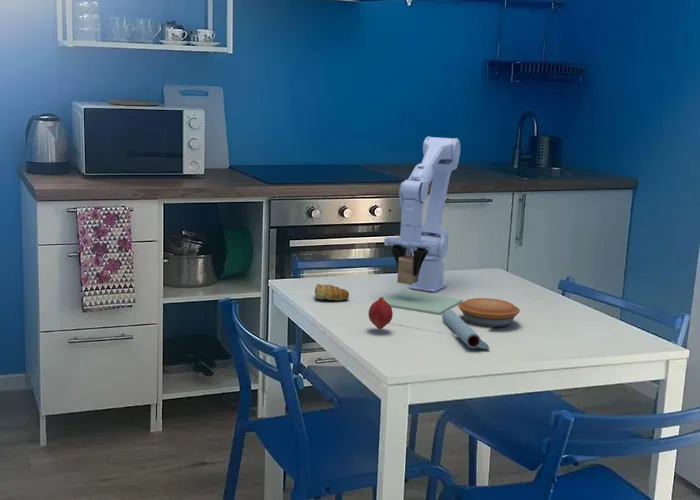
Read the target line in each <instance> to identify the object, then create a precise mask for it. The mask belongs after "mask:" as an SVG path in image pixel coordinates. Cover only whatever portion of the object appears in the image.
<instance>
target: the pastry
mask: <svg viewBox="0 0 700 500" xmlns="http://www.w3.org/2000/svg"><path fill="white" fill-rule="evenodd" d="M314 297H315V298H316V299H318V300H325V299H326V300H329V301H333V300H334V302H335V301H343V300H348V299H349V297H350V292H349V291H348V290H346V289H345V288H340V287H339V286H334V285H332V284H321V283H317V284H316V285H315V289H314Z"/></svg>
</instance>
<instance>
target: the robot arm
mask: <svg viewBox="0 0 700 500" xmlns="http://www.w3.org/2000/svg"><path fill="white" fill-rule="evenodd" d="M422 153H423V158H422V161H421V163H418V164H416V165H415V166H414V169H413V170H412V172H411V173H410V175H409V177H408V179H405V180H404V181H401V183H400V186H399V191H398V193H399V200H400V201H399V202H400V203H399V206H400V207H401V217H400V218H401V219H400V232H399V233H400V234H399V237H384V240H383V241H384V246H388V247H389V246H392V247H391V249H390V251H391V253H392V255H393V257H394V260H395V264H396V268H397V270H398V263H399V257H401V256H404V255H406V253H407V249H409V250H410V252H411V254H412V255H413V256H414V276H417V275H418V282H416V283H414V284H411V285H410V286H408V288H409V289H413V290H420V291H424V292H425V291H426V292H433V293H435V292H437V291H439V290H442V289H443V288H446V284H443V283H444V272H445V271H444V270H445V269H444V268H445V264H444V262H443V260H442V259H444V258H445V257H446V256H447V253H448V249H449V235H448V232H447V231H446V229H444V228H443V227H442V221H443V216H444V209H445V205H446V199H447V194H448V188H449V183H450V177H451V174H452V172H453V171H454V170H456V169H458V166H459V161H460V155H461V141H460V140H459V138H458V137H455V138H451V137H435V136H434V137H433V136H429V135H428V136H427V137H425V138H424V141H423V144H422ZM430 183H431V186H430ZM429 186H430V192H429ZM428 192H429V196H428ZM427 197H429V198H428V203H427V208H426V214H425V218H424V223H423V217H424V215H423V213H424V203H425V202H426V200H427Z"/></svg>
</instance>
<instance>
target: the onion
mask: <svg viewBox="0 0 700 500" xmlns="http://www.w3.org/2000/svg"><path fill="white" fill-rule="evenodd" d="M384 299H385V298H384V296H380V297H379V298H378V299H377V300H376V301H374V302H373V303H371V305H370V307H369V309H368V312H367V313H368V314H367V315H368V319H369V321H370V323H372V324H373V325H374V326H375V327H376V328H377V329H379V330H381V329H384V328H385V327H386V326H387V325H389V323H390V322H391V321H392V320H393V315H394V313H393V309H392V308H393V307H391V306H390V305H389V304H388V303H387V302H386V301H385V300H384Z"/></svg>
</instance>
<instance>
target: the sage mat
mask: <svg viewBox="0 0 700 500" xmlns="http://www.w3.org/2000/svg"><path fill="white" fill-rule="evenodd" d="M384 300H385V301H386V302H387V303H388V304H389V305H390V306H391V308H396V309H402V310H408V311H415V312H419V313H426V314H432V315H442V314H443V313H444V311H446V310H452V309H453V308H454V307H456V306H458V305H459V304H460V303H462V302H464V299H461V298H454V297H447V296H440V295H436V294H427V293H421V292H415V291H408V290H401V291H399V292H397V293H394V294H392V295H390V296H387V297H385V298H384Z"/></svg>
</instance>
